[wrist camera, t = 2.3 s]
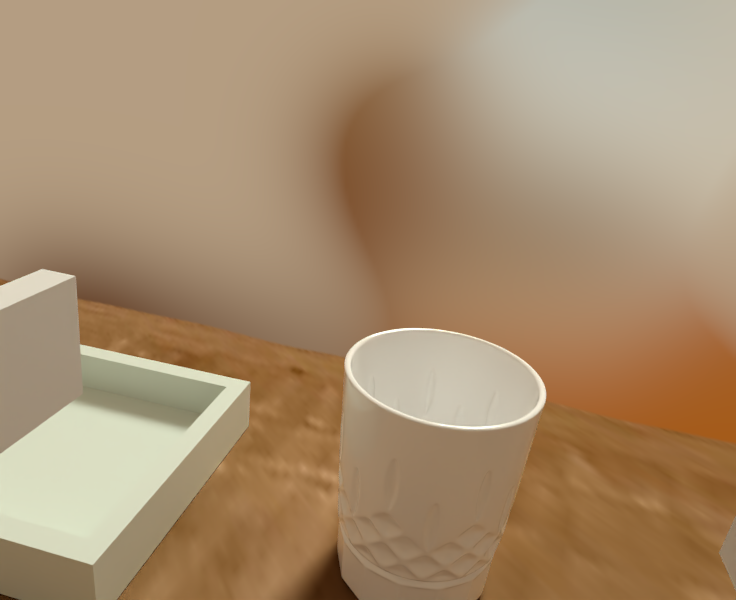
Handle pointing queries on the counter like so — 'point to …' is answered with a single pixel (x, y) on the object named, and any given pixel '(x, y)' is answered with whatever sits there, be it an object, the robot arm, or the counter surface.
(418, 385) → the white cup
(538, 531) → the counter surface
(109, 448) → the tray
